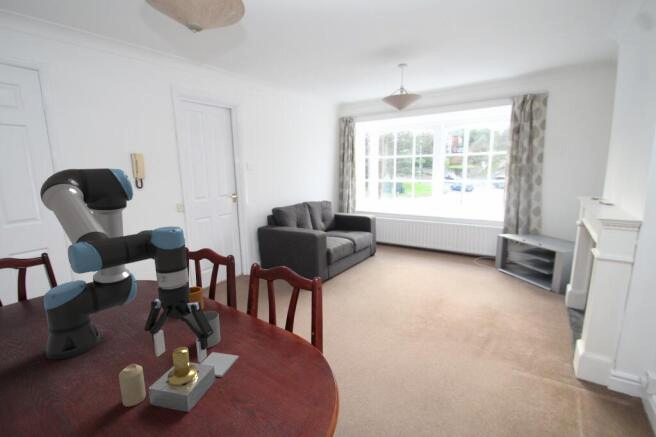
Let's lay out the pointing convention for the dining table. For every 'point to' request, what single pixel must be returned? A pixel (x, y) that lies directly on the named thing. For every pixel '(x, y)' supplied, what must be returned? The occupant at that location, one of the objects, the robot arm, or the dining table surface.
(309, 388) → the dining table surface
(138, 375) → the candle
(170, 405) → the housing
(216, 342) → the cup
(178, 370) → the gold flanged shaft
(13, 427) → the dining table surface
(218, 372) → the mat
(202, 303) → the mug
